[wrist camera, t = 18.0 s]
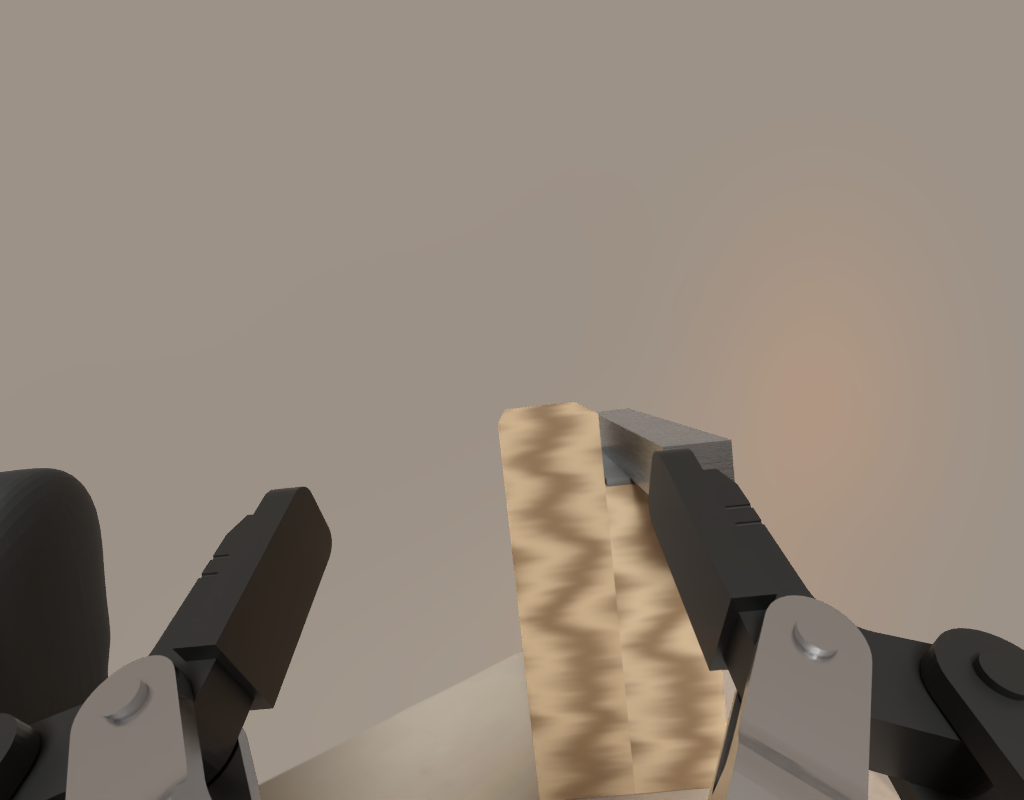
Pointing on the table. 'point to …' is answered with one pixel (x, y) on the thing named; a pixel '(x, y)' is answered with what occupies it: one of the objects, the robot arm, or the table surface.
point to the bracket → (601, 620)
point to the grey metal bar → (657, 443)
